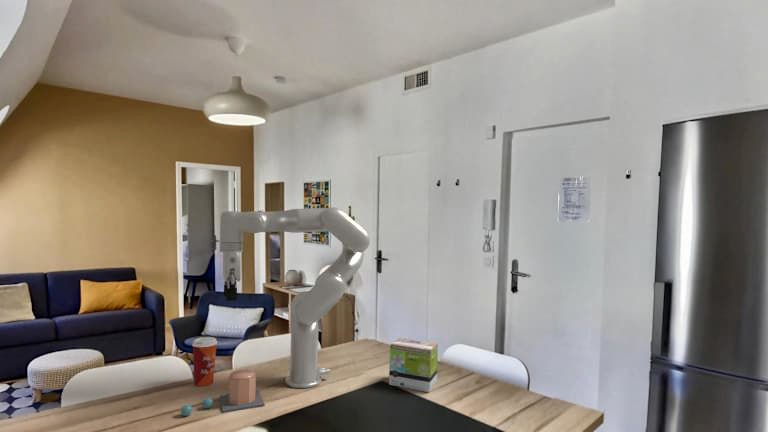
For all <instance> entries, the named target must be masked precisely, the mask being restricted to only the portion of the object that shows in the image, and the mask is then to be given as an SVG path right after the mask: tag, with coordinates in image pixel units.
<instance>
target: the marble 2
mask: <svg viewBox="0 0 768 432" xmlns="http://www.w3.org/2000/svg"><path fill="white" fill-rule="evenodd" d="M213 405H214V400H213V398H211V397H206V398H205V399H204V400H203V401H202V407H203V409H206V410H208V409H210V408H212V407H213Z"/></svg>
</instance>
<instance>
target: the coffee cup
mask: <svg viewBox="0 0 768 432" xmlns="http://www.w3.org/2000/svg"><path fill="white" fill-rule="evenodd" d="M217 345H218V340H217V338H216V337H211V336H205V337H197V338H195V339H194V340H193V343H192V344H191V346H192V351H193V353H192V356H193V357H192V358H193V359H192V360H193V380H194V381H193V382H194V385H195V387H207V386H210V385H211V384H213V383H214V378H215V377H214V376H215V367H216V365H215V364H216V354H217V353H216V352H217Z"/></svg>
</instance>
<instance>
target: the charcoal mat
mask: <svg viewBox="0 0 768 432" xmlns="http://www.w3.org/2000/svg"><path fill="white" fill-rule="evenodd" d="M228 399H229V393H227V394H222V395H219V400H220V405H221V410H222V413H228V412H229V413H230V412H235V411H243V410H249V409H253V408H255V409H256V408H261V407H265V405H266V404H265V402H264V399H263V397H262V395H261V392H260V390H259V389H255V400H254V401H252V402H251V403H249V404H243V405H234V404H229V400H228Z"/></svg>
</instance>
